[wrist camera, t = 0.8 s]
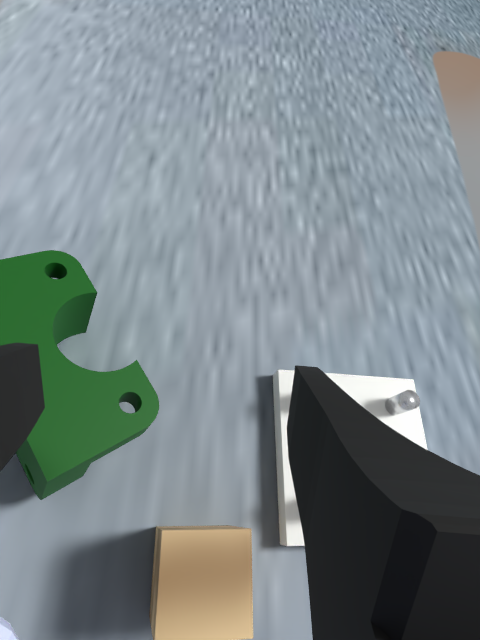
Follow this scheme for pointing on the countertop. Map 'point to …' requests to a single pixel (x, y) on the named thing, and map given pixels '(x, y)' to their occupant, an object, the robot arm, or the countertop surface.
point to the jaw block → (202, 583)
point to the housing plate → (371, 393)
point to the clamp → (67, 372)
